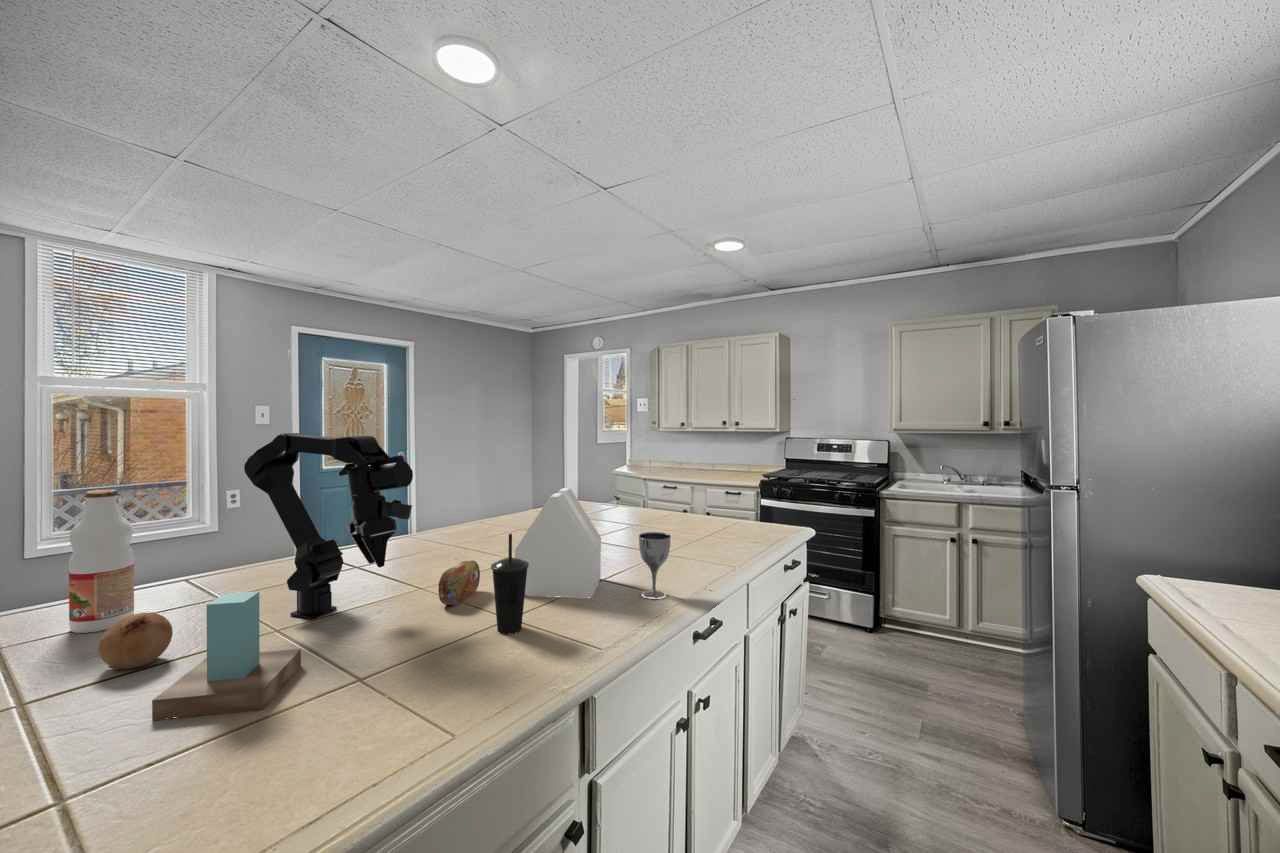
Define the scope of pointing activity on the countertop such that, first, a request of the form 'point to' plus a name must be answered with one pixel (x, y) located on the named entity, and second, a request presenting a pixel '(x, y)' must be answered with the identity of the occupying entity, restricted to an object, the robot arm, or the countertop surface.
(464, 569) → the tin
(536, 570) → the milk carton
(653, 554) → the wine glass
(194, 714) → the walnut base
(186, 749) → the countertop surface
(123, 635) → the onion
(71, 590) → the fruit juice
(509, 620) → the drinking cup
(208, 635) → the teal block
